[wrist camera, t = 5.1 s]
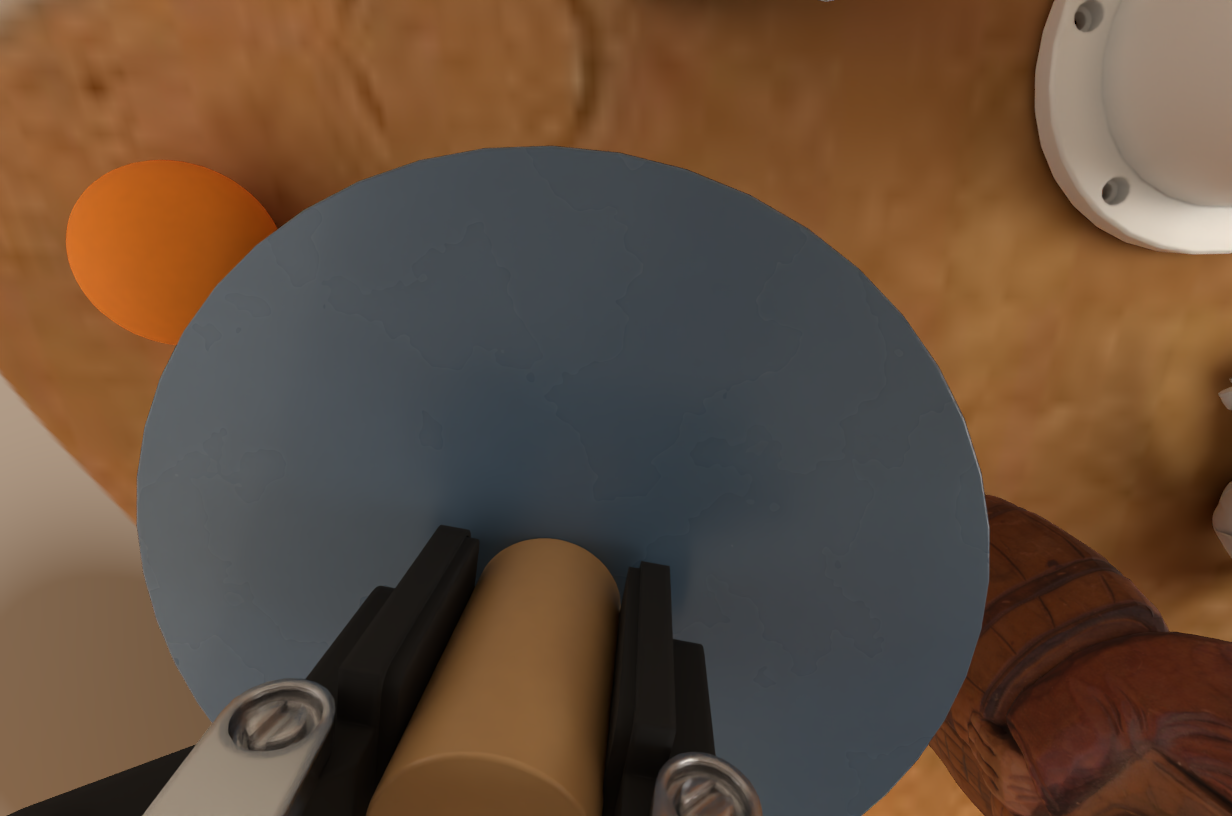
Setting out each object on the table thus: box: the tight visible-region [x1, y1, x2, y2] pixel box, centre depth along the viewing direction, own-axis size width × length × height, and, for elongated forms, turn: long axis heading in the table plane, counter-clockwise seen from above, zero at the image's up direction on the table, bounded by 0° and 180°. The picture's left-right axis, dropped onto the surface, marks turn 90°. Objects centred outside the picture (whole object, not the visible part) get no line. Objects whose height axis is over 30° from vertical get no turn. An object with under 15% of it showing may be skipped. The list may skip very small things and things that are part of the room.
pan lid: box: [137, 146, 990, 816], centre depth 10 cm, size 16×16×6 cm
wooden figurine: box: [929, 495, 1232, 816], centre depth 18 cm, size 12×6×18 cm, turn 15°
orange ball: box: [66, 160, 277, 345], centre depth 21 cm, size 6×6×6 cm
